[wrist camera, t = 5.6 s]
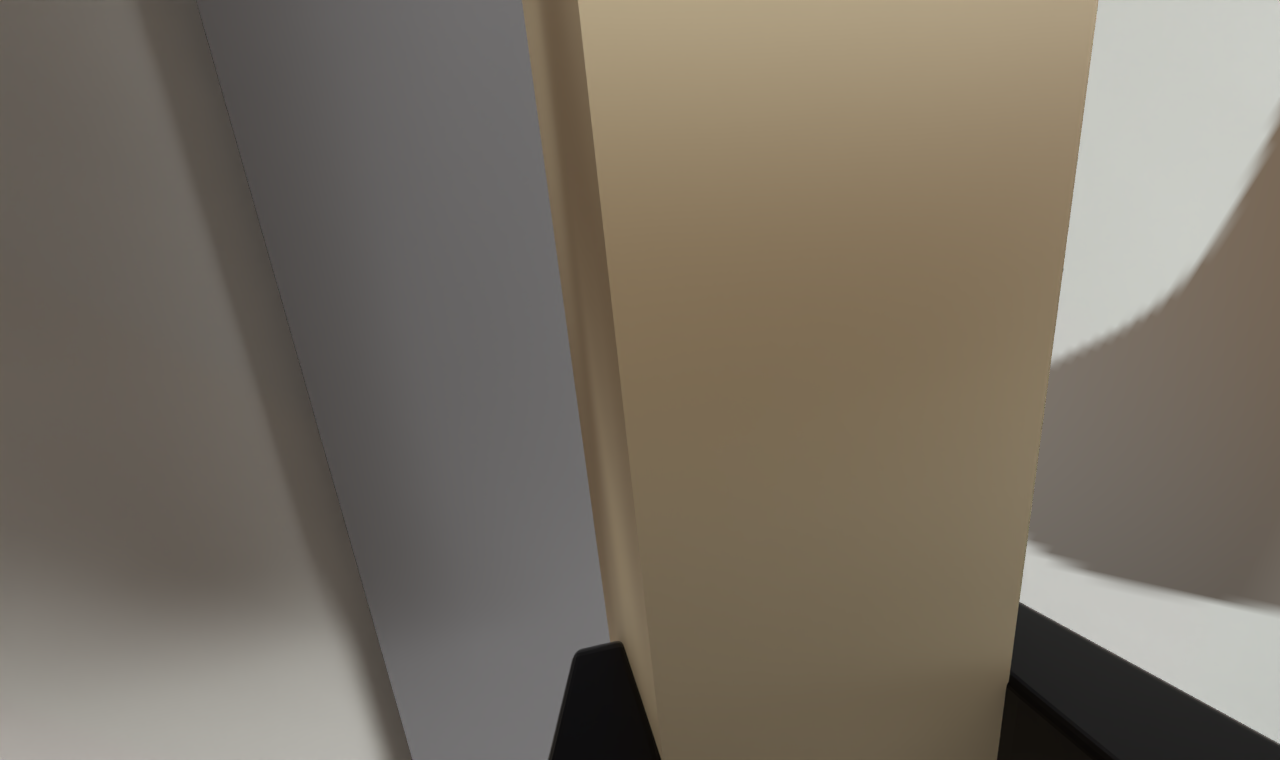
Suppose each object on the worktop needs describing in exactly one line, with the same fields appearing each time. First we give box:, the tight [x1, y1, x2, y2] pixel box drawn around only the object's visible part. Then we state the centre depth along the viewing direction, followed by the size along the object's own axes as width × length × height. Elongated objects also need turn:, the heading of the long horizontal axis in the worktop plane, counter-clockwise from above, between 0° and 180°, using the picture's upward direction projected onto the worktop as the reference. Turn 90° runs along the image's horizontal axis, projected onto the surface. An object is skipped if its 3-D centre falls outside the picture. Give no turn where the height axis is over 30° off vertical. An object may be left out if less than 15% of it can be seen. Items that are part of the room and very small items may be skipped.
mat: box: [196, 0, 610, 760], centre depth 14 cm, size 18×8×1 cm, turn 5°
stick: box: [522, 0, 1098, 760], centre depth 6 cm, size 14×2×2 cm, turn 5°
